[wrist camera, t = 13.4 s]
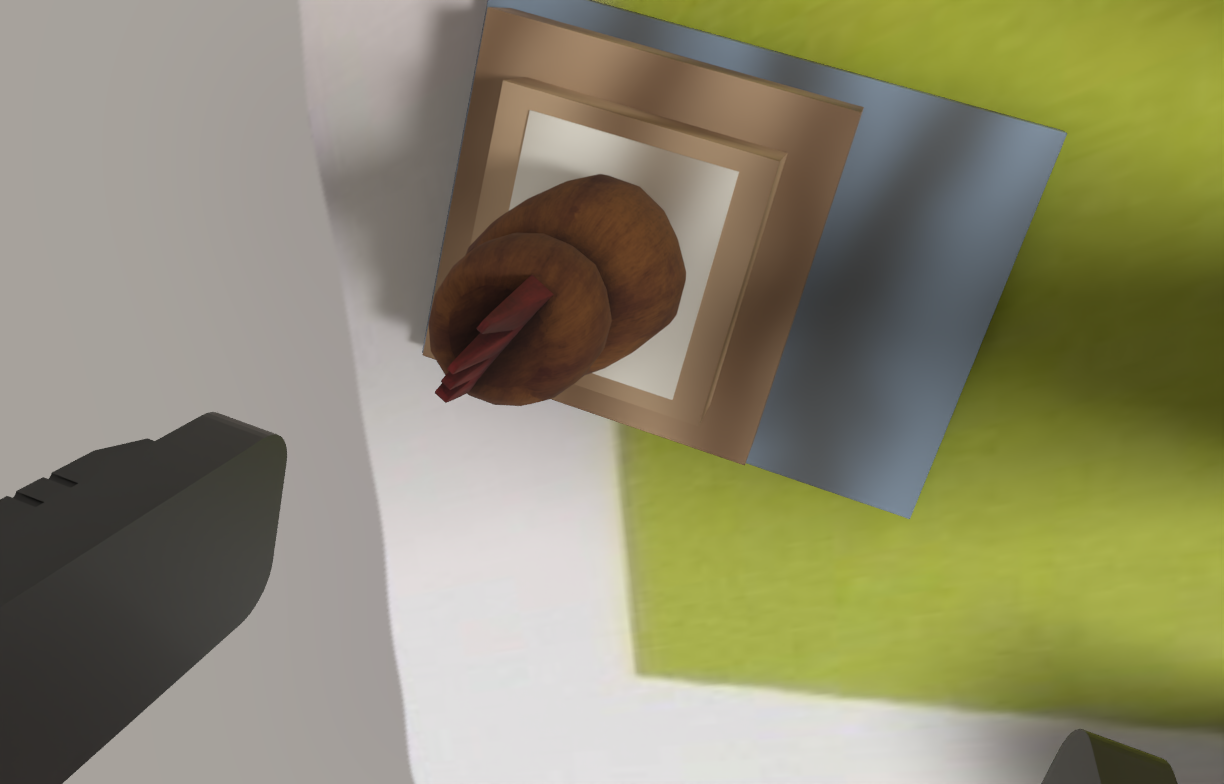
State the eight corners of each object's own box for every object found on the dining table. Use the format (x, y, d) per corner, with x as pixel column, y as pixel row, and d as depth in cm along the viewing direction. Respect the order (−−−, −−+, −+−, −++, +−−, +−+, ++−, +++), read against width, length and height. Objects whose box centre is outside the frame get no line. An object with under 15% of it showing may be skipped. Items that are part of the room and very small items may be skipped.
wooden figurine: (654, 133, 36) (494, 202, 22) (729, 284, 37) (621, 440, 23) (493, 221, 38) (260, 331, 24) (567, 360, 39) (383, 540, 25)
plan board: (1063, 130, 38) (1089, 148, 32) (909, 508, 44) (909, 578, 38) (502, -25, 41) (438, -33, 36) (431, 346, 47) (367, 388, 42)
